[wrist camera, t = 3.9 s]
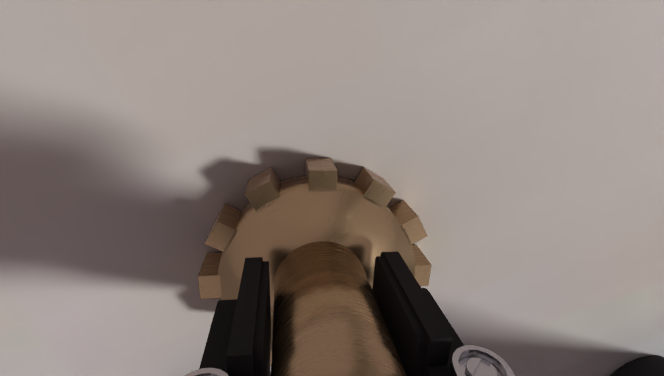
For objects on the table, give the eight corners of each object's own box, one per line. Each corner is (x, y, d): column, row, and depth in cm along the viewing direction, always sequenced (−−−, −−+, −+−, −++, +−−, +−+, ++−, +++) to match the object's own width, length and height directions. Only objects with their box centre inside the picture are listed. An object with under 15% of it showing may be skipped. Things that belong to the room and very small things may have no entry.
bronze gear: (197, 158, 11) (99, 265, 5) (428, 158, 12) (566, 245, 6) (216, 347, 14) (167, 561, 8) (404, 332, 15) (484, 509, 9)
